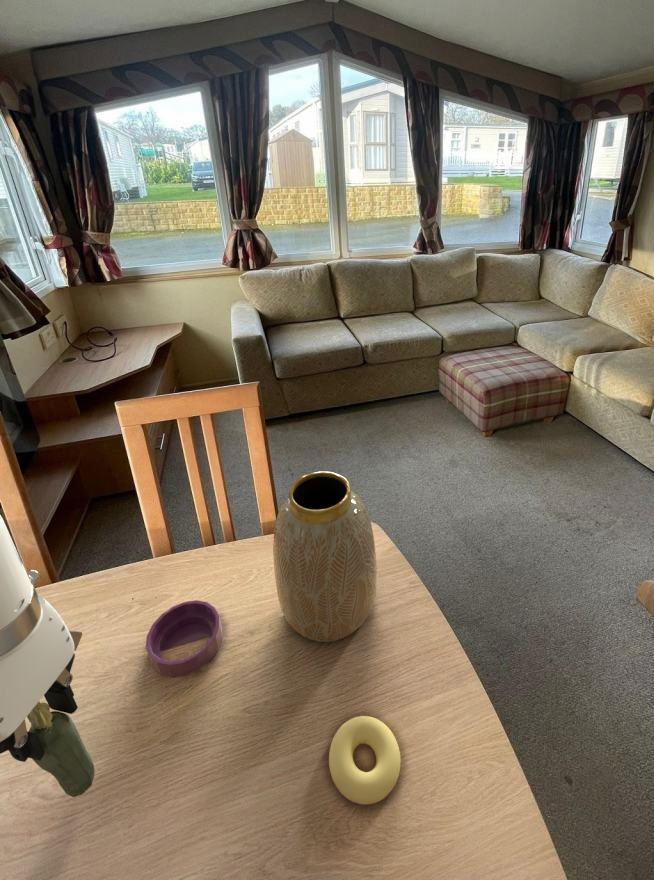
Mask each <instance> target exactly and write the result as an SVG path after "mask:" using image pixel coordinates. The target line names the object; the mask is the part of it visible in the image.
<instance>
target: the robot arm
mask: <svg viewBox="0 0 654 880" xmlns="http://www.w3.org/2000/svg"><path fill="white" fill-rule="evenodd" d="M41 578H42V576H41V574H40V573H39V572H38V571H37V570H34V569H31V570H29V571H28V572H27V570H26V568H25V566H24V563H23V562H22V559H21V557H20V555H19V553H18V550H17V548H16V546H15V544H14V541H13V539H12V536H11V535H10V532H9V530H8V527H7V525H6V523H5V521H4V518H3V517H2V515H1V514H0V755H1V754H3V753H5V752H9V754H10V755H11V756H12V758H13V759H14V760H16V761H19V762H23V763H26V761H28V759H32V760H33V759H35V760H41V759H42V757H43V756H44V752H45V751H44V749H43V747H42V746H41V744H40V742H39V740H38V738H37V736H36V735H35V734H34V733H32V732H28V731H29V730H28V729H27V723H26V718H27V716H28V714H29V713H30V712H31V711H32V709H33V708H34V707H35V706H36V704H37V703H38V702H40V701H41V700H42V698H43V697H44V699H45V701H46V703H47V704H48V705H49V706H50V710H53V711H59V712H62V713H65V714H70V715H73V714H74V713H76V712H77V710H78V708H79V706H78V705H77V704H78V703H77V702H76V700H75V697H74V696H75V694H74V691H73V688H72V687H71V683H72V681H73V674H72V673H71V671H72V668H73V664H74V660H75V658H76V653H75V652H76V651H77V649H78V647H79V644H80V642H81V640H82V637H83V632H82V631H78V630H73V629H69V628H68V626H67V625H66V623H65V621H64V619H63V618H62V617H61V615H60V614H59V613H58V611H57V610H56V609H55V608H54V607H53V606H52V605H51V603H50V602H48V601H47V599H45V598H44V597H43V596H42V595H40V594H38V593H37V591H36V588H35V587H36V586H37V583H38V582H39V581H40V580H41Z"/></svg>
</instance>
